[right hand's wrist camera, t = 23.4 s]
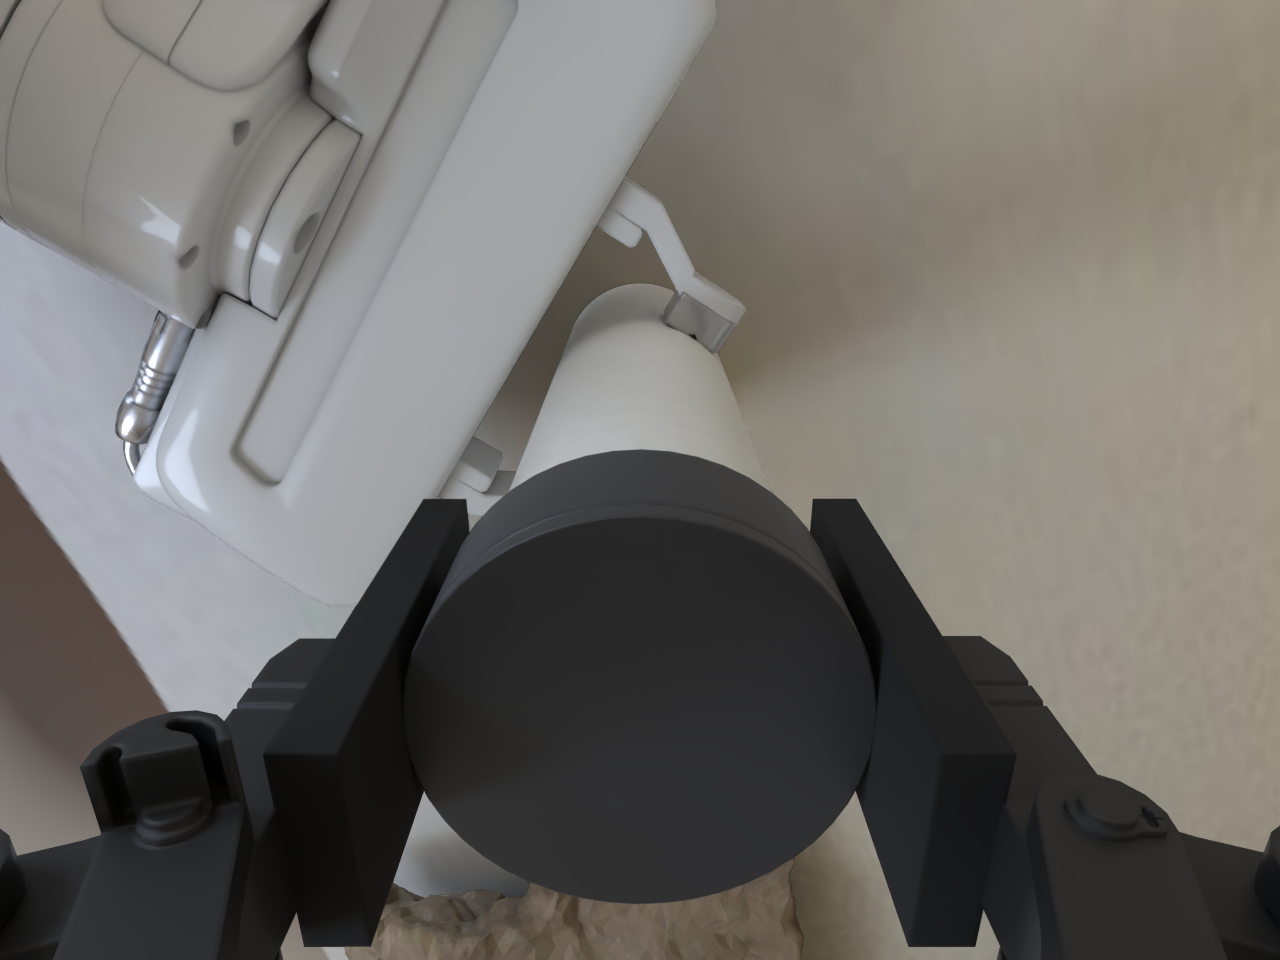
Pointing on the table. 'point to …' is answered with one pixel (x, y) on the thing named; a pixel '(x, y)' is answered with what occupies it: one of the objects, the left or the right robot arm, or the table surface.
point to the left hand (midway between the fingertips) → (666, 423)
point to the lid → (639, 682)
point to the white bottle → (638, 391)
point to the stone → (590, 926)
